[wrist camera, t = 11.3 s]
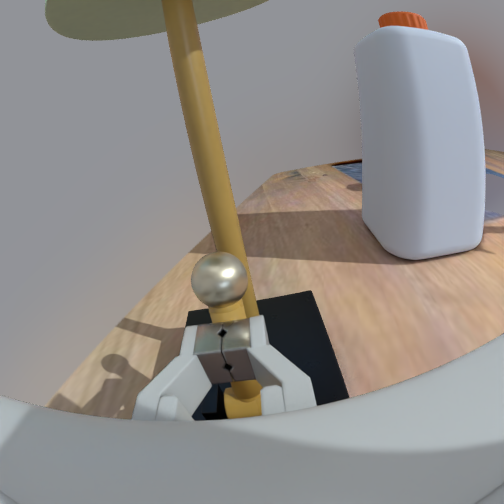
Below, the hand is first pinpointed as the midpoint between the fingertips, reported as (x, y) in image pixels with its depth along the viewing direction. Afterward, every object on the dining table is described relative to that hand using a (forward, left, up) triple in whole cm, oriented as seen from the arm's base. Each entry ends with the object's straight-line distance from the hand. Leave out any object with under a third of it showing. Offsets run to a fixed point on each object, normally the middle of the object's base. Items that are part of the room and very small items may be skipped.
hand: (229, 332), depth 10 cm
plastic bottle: (+23, +21, -9) cm, 32 cm away
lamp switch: (0, 0, -5) cm, 5 cm away
